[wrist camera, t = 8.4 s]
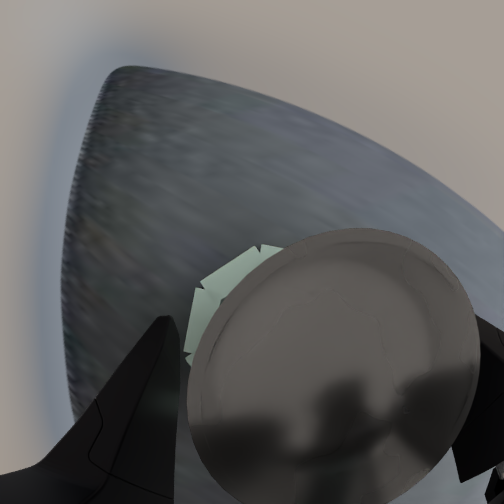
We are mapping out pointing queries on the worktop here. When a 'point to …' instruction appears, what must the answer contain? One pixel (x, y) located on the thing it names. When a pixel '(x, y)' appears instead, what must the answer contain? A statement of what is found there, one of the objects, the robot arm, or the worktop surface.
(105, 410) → the robot arm
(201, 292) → the collar ring
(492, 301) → the worktop surface
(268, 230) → the worktop surface
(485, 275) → the worktop surface
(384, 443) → the glass jar
